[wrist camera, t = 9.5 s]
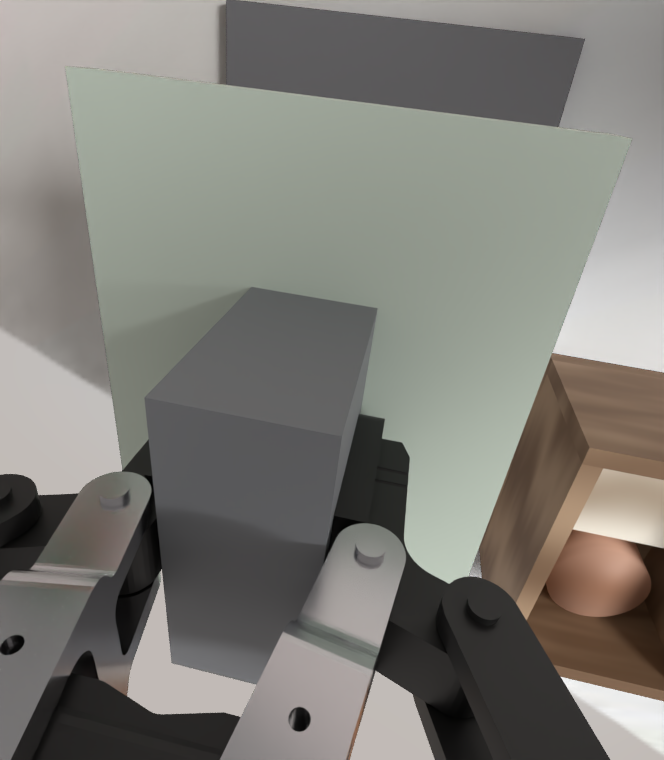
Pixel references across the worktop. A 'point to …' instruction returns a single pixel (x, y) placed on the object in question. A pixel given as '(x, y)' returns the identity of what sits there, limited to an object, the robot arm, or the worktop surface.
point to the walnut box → (588, 524)
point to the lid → (319, 321)
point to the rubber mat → (400, 62)
